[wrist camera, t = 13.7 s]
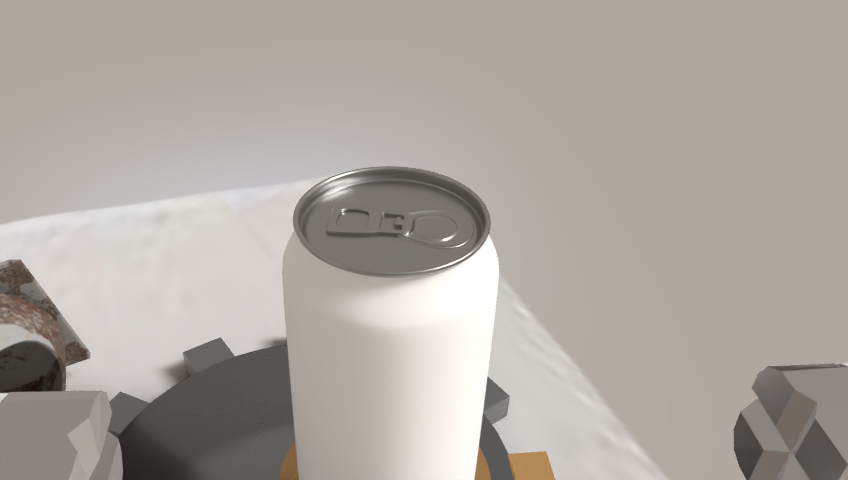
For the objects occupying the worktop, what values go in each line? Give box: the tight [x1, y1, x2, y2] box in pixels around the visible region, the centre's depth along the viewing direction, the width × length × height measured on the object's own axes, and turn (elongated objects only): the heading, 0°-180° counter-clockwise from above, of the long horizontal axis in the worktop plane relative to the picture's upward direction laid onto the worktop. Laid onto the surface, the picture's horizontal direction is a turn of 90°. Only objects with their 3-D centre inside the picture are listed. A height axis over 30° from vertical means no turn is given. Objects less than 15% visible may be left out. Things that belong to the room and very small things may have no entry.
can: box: [282, 166, 499, 480], centre depth 25 cm, size 6×6×12 cm
